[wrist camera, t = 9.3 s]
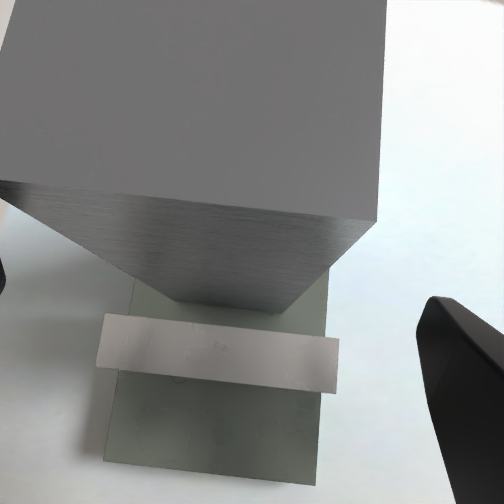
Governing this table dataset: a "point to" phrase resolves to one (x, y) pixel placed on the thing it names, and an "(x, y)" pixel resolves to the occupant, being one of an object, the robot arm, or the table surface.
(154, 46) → the steel block
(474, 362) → the robot arm
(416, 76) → the table surface
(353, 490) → the table surface
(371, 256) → the table surface
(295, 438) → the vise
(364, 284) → the table surface
